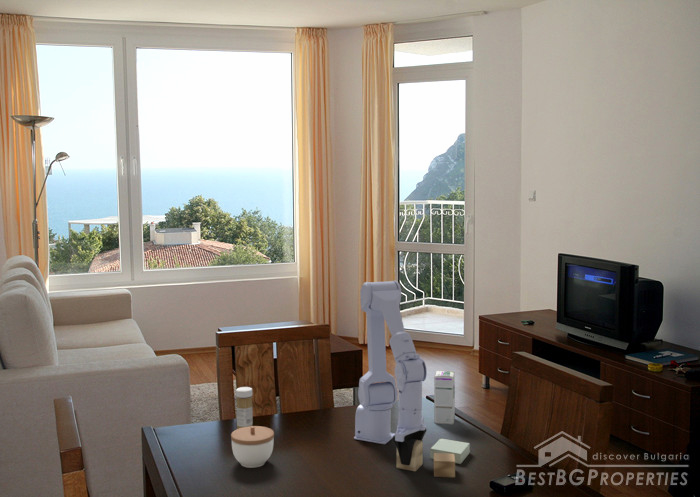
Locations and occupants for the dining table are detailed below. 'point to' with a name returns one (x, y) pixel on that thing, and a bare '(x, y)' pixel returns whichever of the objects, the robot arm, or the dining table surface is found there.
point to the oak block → (444, 465)
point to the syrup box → (444, 397)
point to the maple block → (413, 457)
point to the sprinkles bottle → (244, 407)
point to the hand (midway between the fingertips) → (409, 460)
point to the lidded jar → (252, 445)
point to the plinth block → (451, 449)
